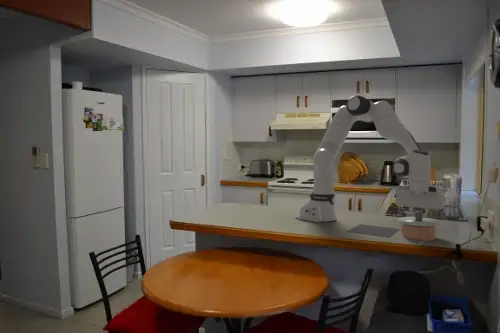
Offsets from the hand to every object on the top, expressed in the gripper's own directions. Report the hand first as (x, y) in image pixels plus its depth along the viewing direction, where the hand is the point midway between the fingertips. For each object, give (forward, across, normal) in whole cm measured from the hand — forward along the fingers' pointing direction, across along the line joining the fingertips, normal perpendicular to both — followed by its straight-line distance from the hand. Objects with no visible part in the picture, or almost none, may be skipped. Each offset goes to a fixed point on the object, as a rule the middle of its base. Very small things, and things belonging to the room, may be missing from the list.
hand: (418, 217), depth 184 cm
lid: (+2, 0, 0) cm, 2 cm away
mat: (+9, -20, 0) cm, 22 cm away
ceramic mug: (+9, -8, +22) cm, 25 cm away
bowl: (+9, 0, 0) cm, 9 cm away
